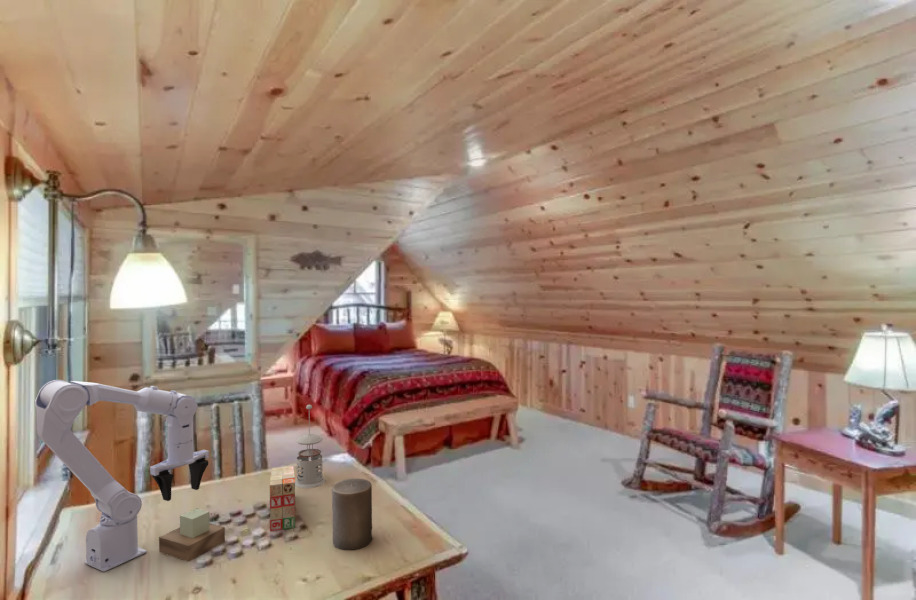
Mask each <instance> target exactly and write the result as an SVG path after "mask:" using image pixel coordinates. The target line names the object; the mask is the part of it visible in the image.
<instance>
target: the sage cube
mask: <svg viewBox="0 0 916 600" xmlns="http://www.w3.org/2000/svg"><path fill="white" fill-rule="evenodd" d="M209 523H210V511H208V510H204V509H202V508H201V509H200V508H196V507H195V508H194V509H191V510H189V511H187V512H184V513H182V514H180V515H179V527H180V534H181V535H184V536H187V537H190V538H194V537H196V536H198V535H200V534H202V533H204V532H207V531H209Z"/></svg>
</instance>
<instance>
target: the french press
mask: <svg viewBox="0 0 916 600" xmlns="http://www.w3.org/2000/svg"><path fill="white" fill-rule="evenodd" d="M305 408H306V409H307V410H308V433H307V434H304V435H301V436H300V437H298V438H297V439H296V440H295V441H296V443H297V444H298V445H301V446H302V445H303V446H306V449H301V450H300V451H298V453H297V454H298V456H297V457H296V479H295V488H298V487H299V488H300V489H312V488H317V487H321V486H322V485H324V484H325V483H326V481H325V480H326V479H325V477H323V455H322V454H321V453H322V450H321V449H319V448H314V445H316V444H319V443H321V442H323V437H322V436H320V435H317V434H314V433H313V434H312V433H311V432H310V431H311V429H310V428H311V427H310V425H311V424H310V419H311V417H310V414H311V413H310V410H311V409H313V405H312V404H307V405H306V407H305ZM309 459H310V460H309ZM323 483H324V484H323Z"/></svg>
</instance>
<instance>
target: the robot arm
mask: <svg viewBox="0 0 916 600" xmlns="http://www.w3.org/2000/svg"><path fill="white" fill-rule="evenodd" d="M100 401H103V402H110V403H111V402H112V403H116V404H117V403H118V404H119V403H120V404H126V405H133V406H134V408H135V409H136V411H138V412H142V413H149V414H155V415H162V416H167V419H166V420H167V425H166V426H167V428H166V429H167V459H165V460H163V461H161V462H158V463H157V464H156V463H155V465H150V467H149V472H150V473H149V474H150V476H151V477H152V478H153V479H154V481H155V482H156V484H157V486H158V488H159V490H160V493H161V496H162V500H163V501H167V502H170V501H171V500H172V486H173V485H172V484H173V479H174V476H175V475H174V474H173V473H171V472H170V471H171V470H174V469H176V468H181V467H183V466H186V465H188V468H189V472H190V488H191V489H193V490H195V491H198V490H199V489H200V487H201V486H200V485H201V482H202V478H203V476H204V472H205V471H206V469H207V467H209V461H208V460H207V459H209V458H210V450H206V449H202V450H199V451H194V415H195V413H196V412H197V410H198V408H199V405H198V404H197V402H196V400H195V398H193V396H191V395H188V394H185V393H180V392H178V391H176V390H173V389H172V390H170V391H168V390H164V389H163V390H162V389H159V387H158V386H154V385H150V387H143V388H142V389H139V390H137V391H135V390H131V389H125V388H121V387H116V386H112V385H106V384H104V383H103V384H101V383H97V382H92V381H91V382H90V381H89V382H87V381H78V380H70V381H66V380H63V379H53V380H50V381H48V382H46V383H45V384H44V385H42V386H41V388H40V389H39V391H38V394H37V395H36V398H35V400H34V406H35V411H36V412H35V413H36V433H37V436H38V437H39V439H40V440H41V441H42V442H43V443H44V444H45V445H46V447H48V448H49V449H50V451H51V452H52V453H53V454H54V455H55V456H56V457H57V458H58V459H59V460H60V461H61V462H62V463H63V464H64V465H65V466H66V468H67V469H68V470H69V471H70V472H71V473H72V474H73V475H74V476H75V477H76V478H77V479H78V480H79V481H80V483H82V484H83V486H85V488H87V490H88V491H89V492H90V495H91V496H92V497H93V499H94V502H95V507H96V509H97V510H98V511H99V512H100V513H101V515H100V519H99V523H98V524H97V525H95V526H93V527H92V528H90V529H88V530H87V532H86V536H85V552H86V557H85V561H84V564H86V565H88V566H90V567H92V568H94V569H97V570H99V571H100V572H107V571H109V570H111V569H113V568H115V567H118V566H119V565H122V564H124V563H127V562H129V561H131V560H132V559H136V558H137V557H139V556H142V555H143V554H146V552H147V549H144V548H142V547H140V546H139V540H138V539H139V538H138V532H139V531H138V514H139V513H140V511H141V509H142V504H143V503H142V499H141V497H140V495H138V494H136V493H133V492H130V491H128V489H126V488H125V487H124V486H123V485H122V484H120V483H119V482H118V481H117V480H116V479H115V478H114V477H113V476H112V475H111V474H110V472H108V470H107V469H106V468H105V467H104V466H103V464H101V463H100V462H99V460H98V459H97V458H96V456H94V455H93V454H92V452H91V451H90V450H89V449H88V448H87V447H86V445H84V444H83V442H82V441H81V440H80V439H79V438H78V437H77V435H75V434H74V432H73V431H72V430H71V429H72V426H73V424H74V421H75V419H76V418H77V417H78V416H79V414H80V413H81V411H82V410H83V409H84V408H85V407H86V405H87V406H93V405H94V404H96V403H98V402H100Z"/></svg>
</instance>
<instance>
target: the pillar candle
mask: <svg viewBox="0 0 916 600" xmlns="http://www.w3.org/2000/svg"><path fill="white" fill-rule="evenodd" d="M372 488H373V487H372V482H371V480H370V481H369V480H368V479H364V478H347V479H342V480H340V481H337V482H336V483H334V484H333V485H332V486H331V495H332V497H331V498H332V499H331V500H332V543H333V546H334V547H335V548H337V549H340V550H344V551H347V550H356V549H362V548H365V547H366V546H368V545H369V544H371V543H372V541H373V537H374V536H373V502H372V501H373V500H372V499H373V496H372V495H373V493H372V492H373V491H372V490H373V489H372Z"/></svg>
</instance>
